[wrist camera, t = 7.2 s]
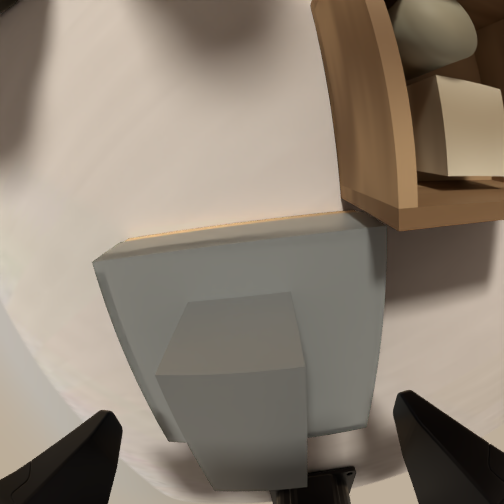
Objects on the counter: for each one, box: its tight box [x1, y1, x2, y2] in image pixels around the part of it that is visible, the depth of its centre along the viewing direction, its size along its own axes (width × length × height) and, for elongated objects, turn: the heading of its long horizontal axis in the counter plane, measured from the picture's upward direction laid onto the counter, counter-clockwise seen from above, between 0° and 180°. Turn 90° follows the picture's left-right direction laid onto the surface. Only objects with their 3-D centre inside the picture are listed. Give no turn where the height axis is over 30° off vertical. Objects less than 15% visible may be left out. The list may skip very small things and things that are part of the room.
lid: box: [92, 211, 387, 491], centre depth 9 cm, size 9×9×6 cm
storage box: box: [310, 0, 504, 231], centre depth 7 cm, size 8×8×5 cm
